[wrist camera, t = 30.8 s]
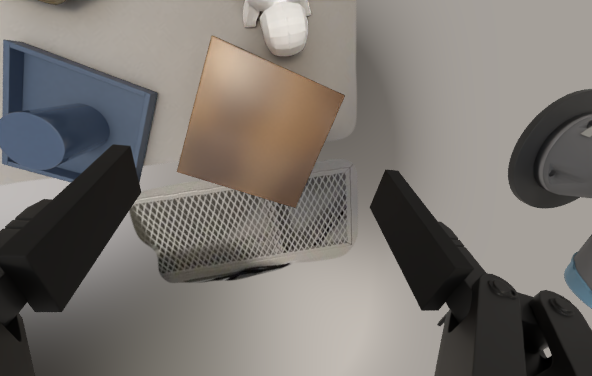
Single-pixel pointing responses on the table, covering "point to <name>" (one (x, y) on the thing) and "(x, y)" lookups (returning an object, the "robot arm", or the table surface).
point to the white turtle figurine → (280, 23)
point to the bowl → (53, 1)
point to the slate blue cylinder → (52, 134)
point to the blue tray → (76, 101)
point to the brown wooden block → (256, 125)
